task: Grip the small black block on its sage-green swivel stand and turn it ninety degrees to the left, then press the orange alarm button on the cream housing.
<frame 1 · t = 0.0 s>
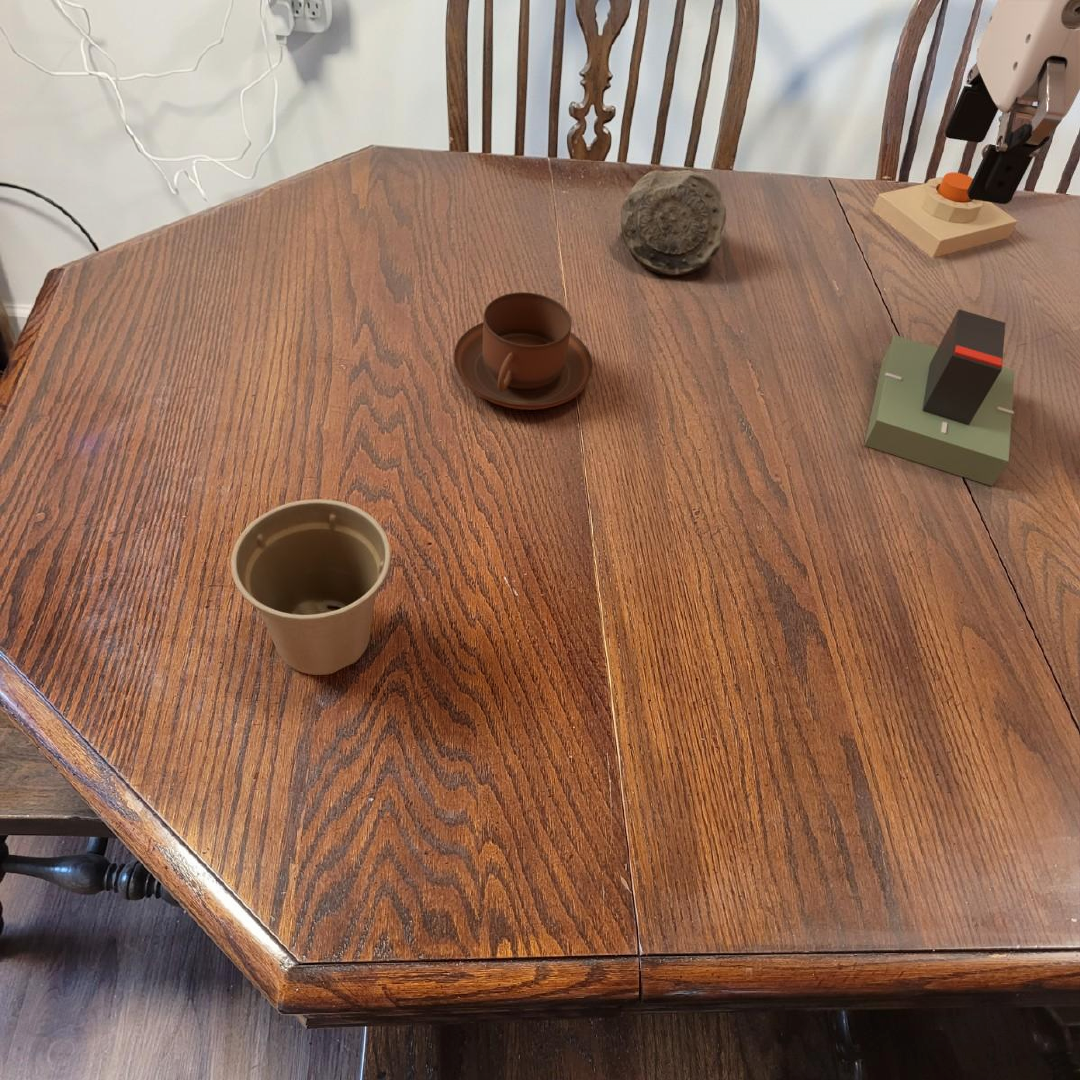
hand: (974, 168, 74), 20 cm above the table, tool pointing down, fingers open, 9 cm apart
flower pot: (323, 638, 63), on the table
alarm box: (939, 224, 107), on the table
black block: (964, 365, 80), point 6 cm above the table, hinge at 0.0°
cup and saucer: (521, 377, 83), on the table
alarm button: (957, 187, 104), point 5 cm above the table, slide at 0.2 cm
fossil: (664, 254, 98), on the table
clock stand: (934, 419, 84), on the table
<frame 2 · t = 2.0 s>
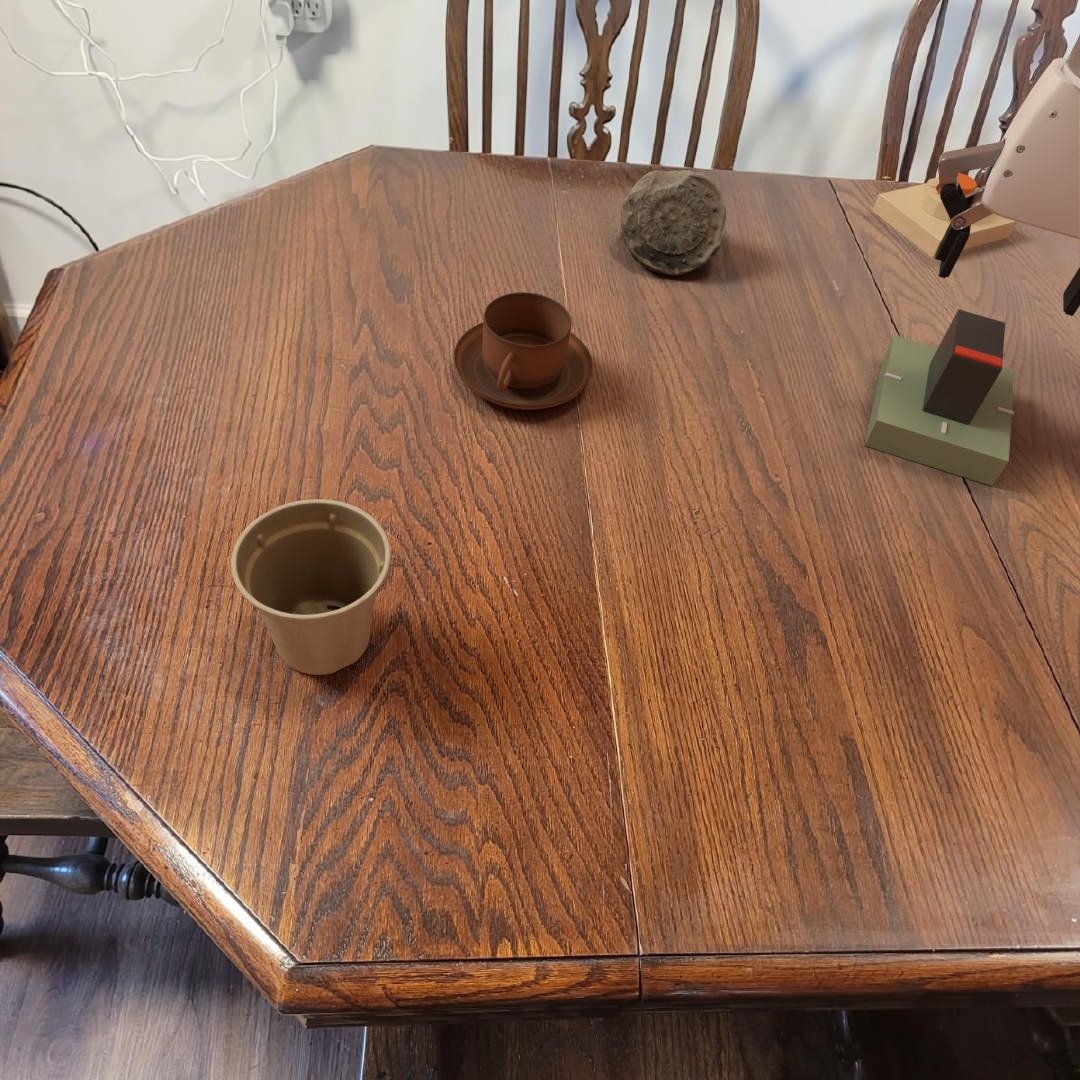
hand: (1004, 287, 74), 14 cm above the table, tool pointing down, fingers open, 9 cm apart
nothing on the table moved.
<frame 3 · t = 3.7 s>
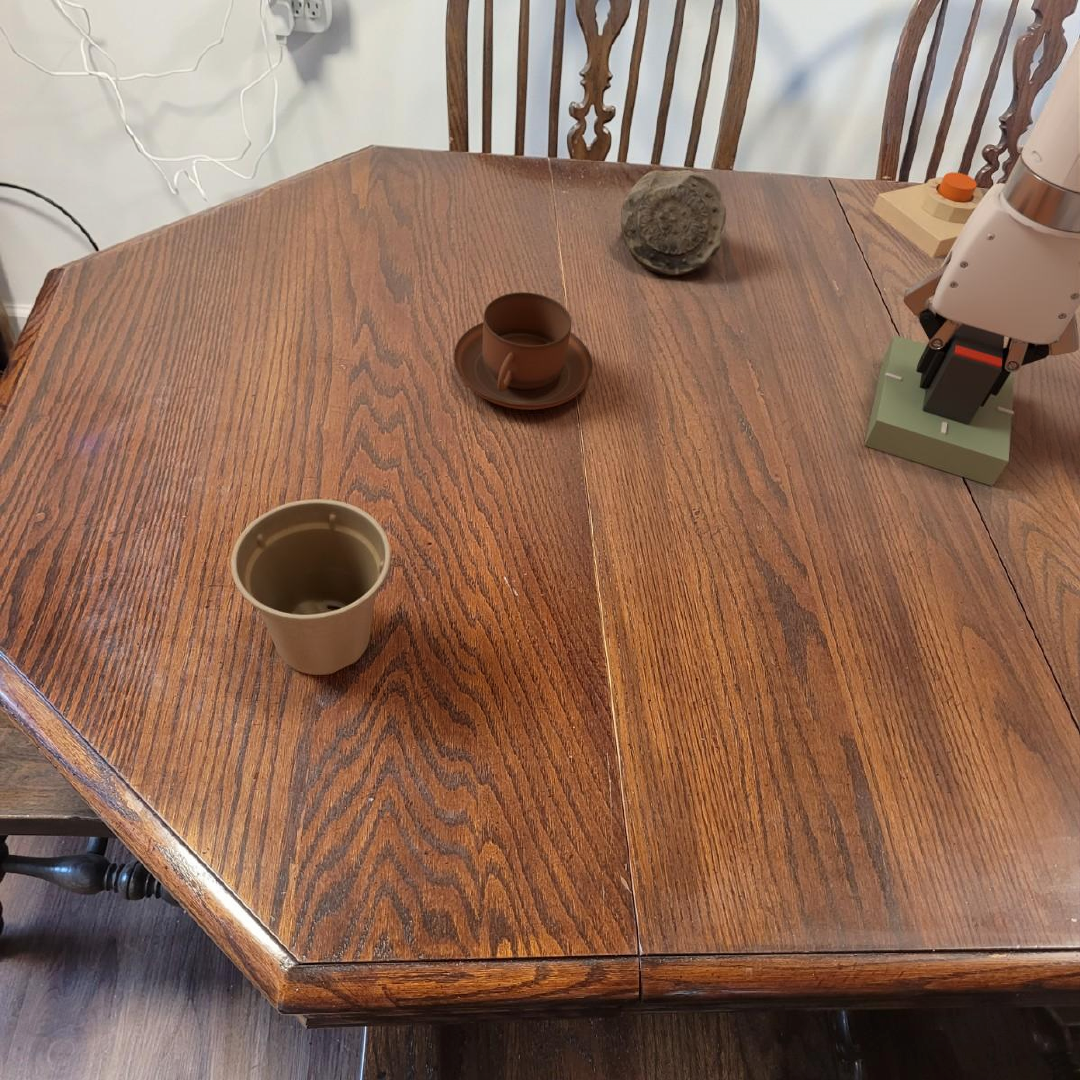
hand: (952, 386, 81), 4 cm above the table, tool pointing down, fingers closed on black block, 4 cm apart
black block: (964, 365, 80), point 6 cm above the table, hinge at -0.1°, touching gripper
everything else where it was.
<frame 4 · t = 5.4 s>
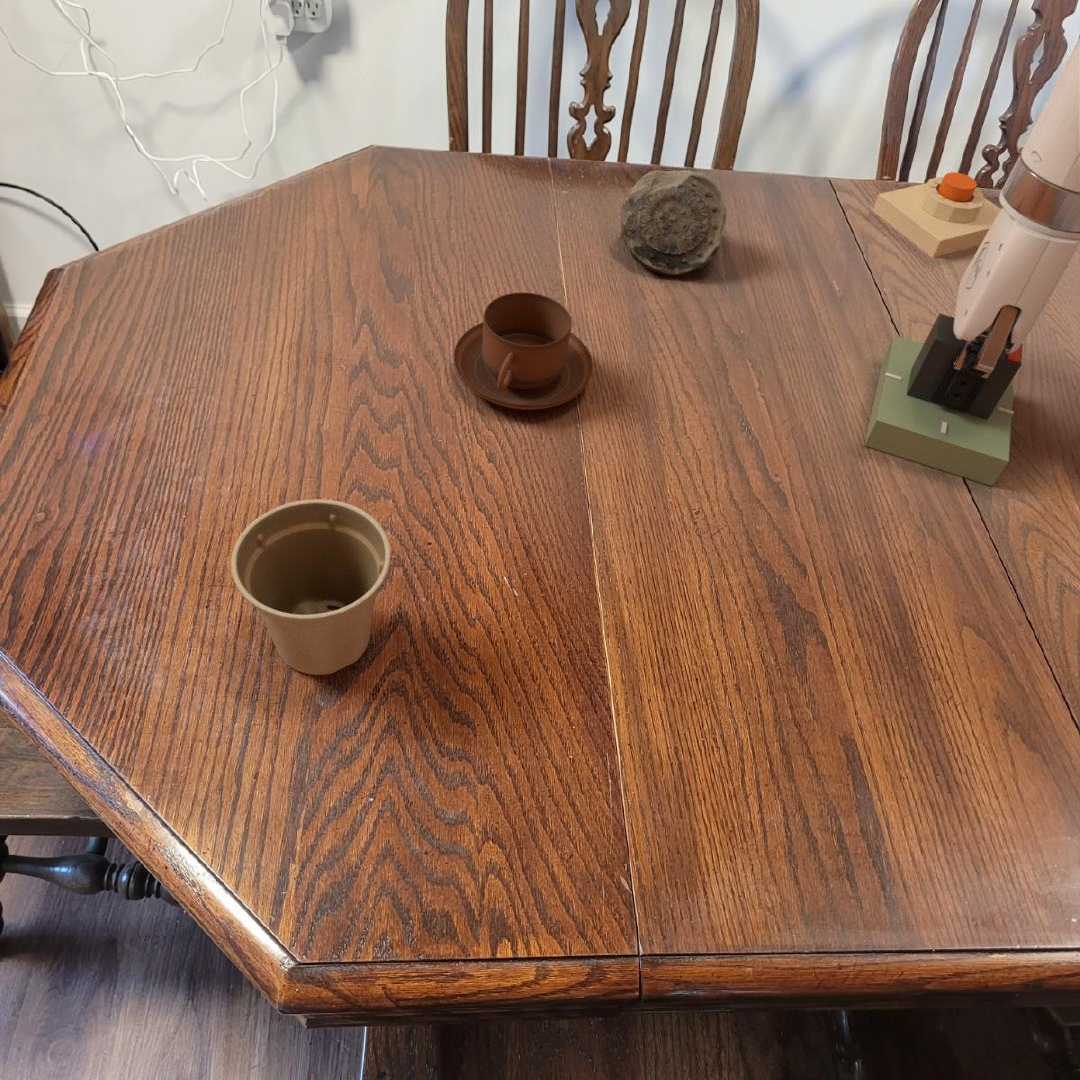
hand: (951, 386, 81), 4 cm above the table, tool pointing down, fingers closed on black block, 4 cm apart
black block: (964, 365, 80), point 6 cm above the table, hinge at 89.8°, touching gripper
everything else where it was.
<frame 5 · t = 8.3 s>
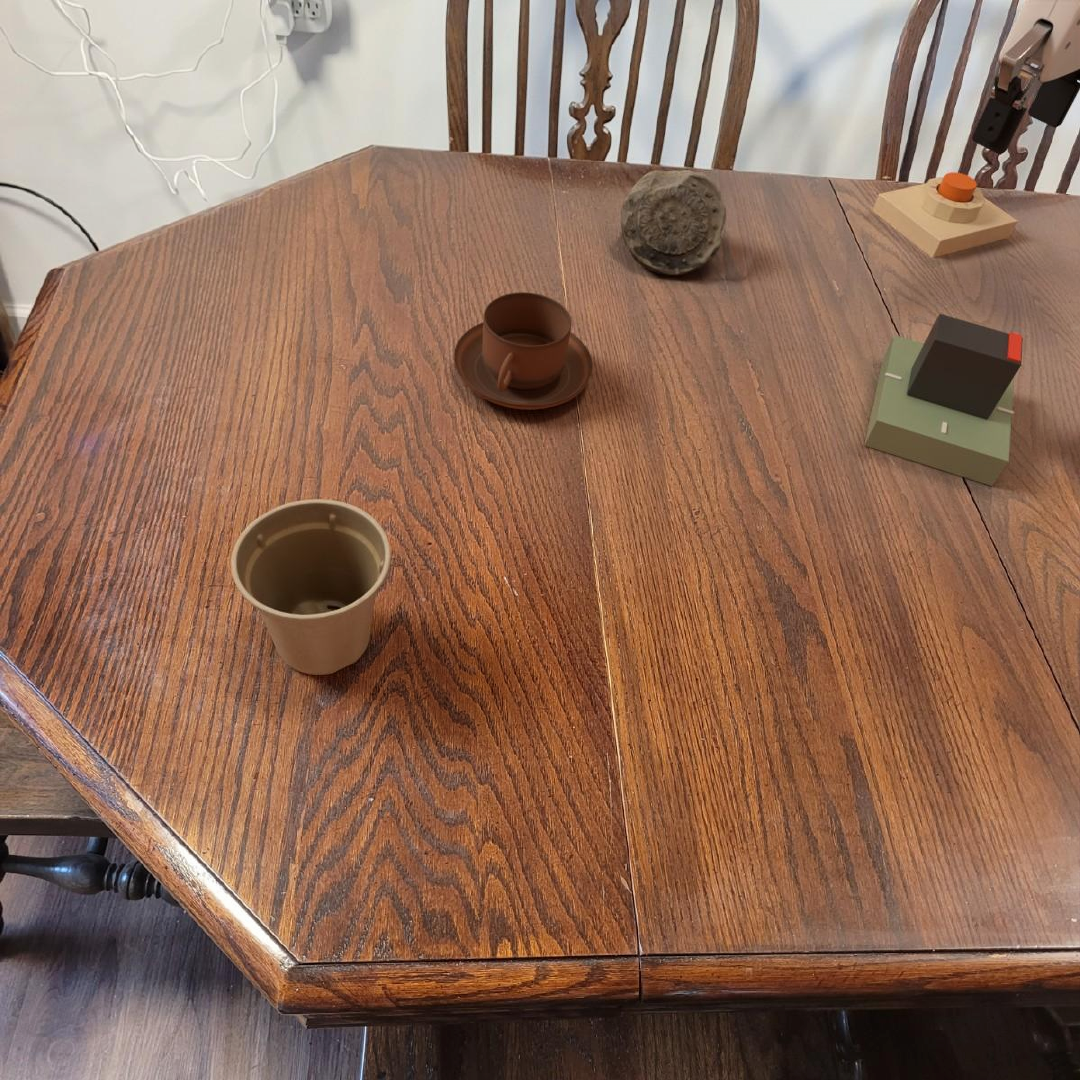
hand: (1016, 133, 85), 17 cm above the table, tool pointing down, fingers open, 9 cm apart
black block: (964, 365, 80), point 6 cm above the table, hinge at 89.9°
everything else where it was.
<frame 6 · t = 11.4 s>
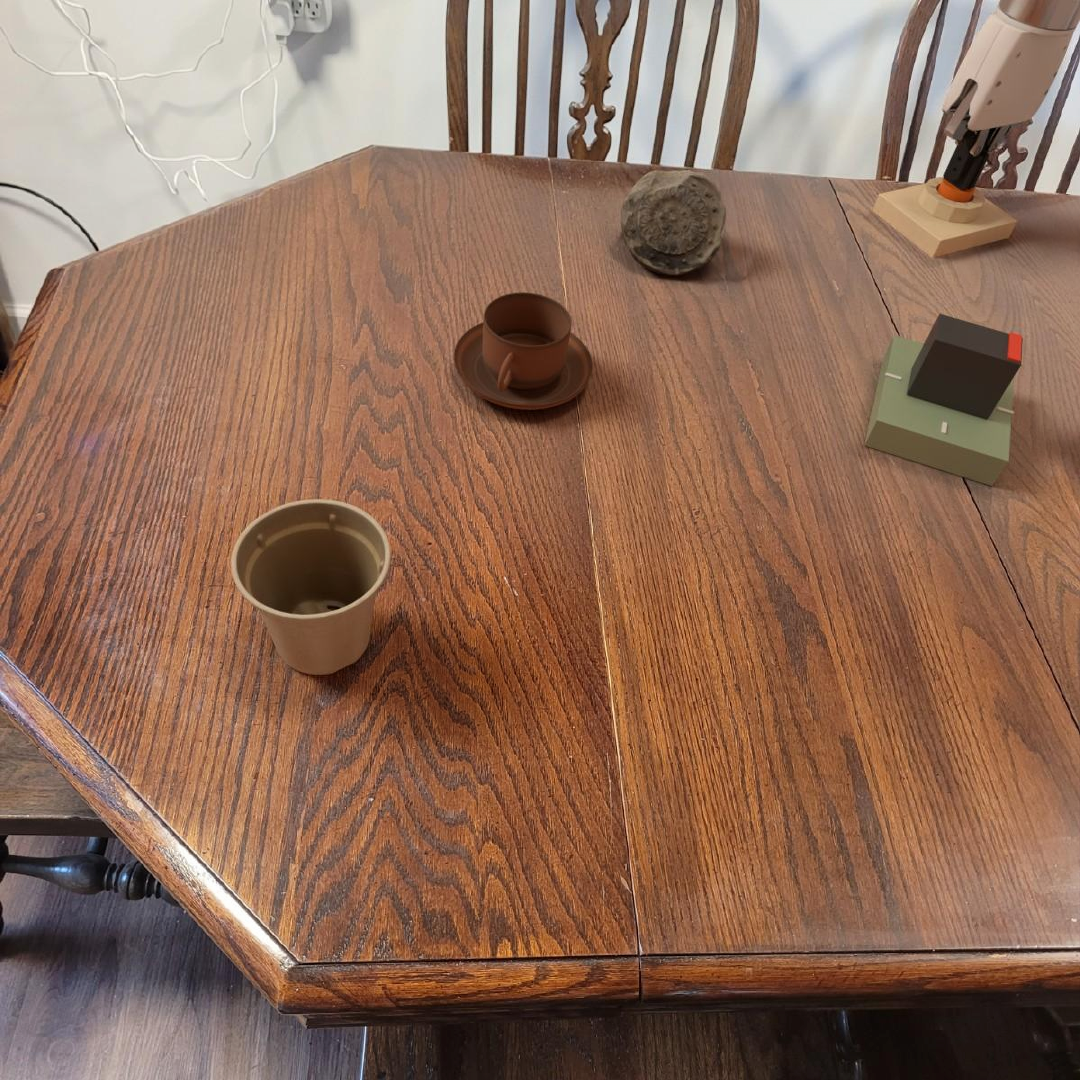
hand: (957, 183, 103), 5 cm above the table, tool pointing down, fingers closed
alarm button: (955, 191, 104), point 4 cm above the table, slide at -0.2 cm, touching gripper
everything else where it was.
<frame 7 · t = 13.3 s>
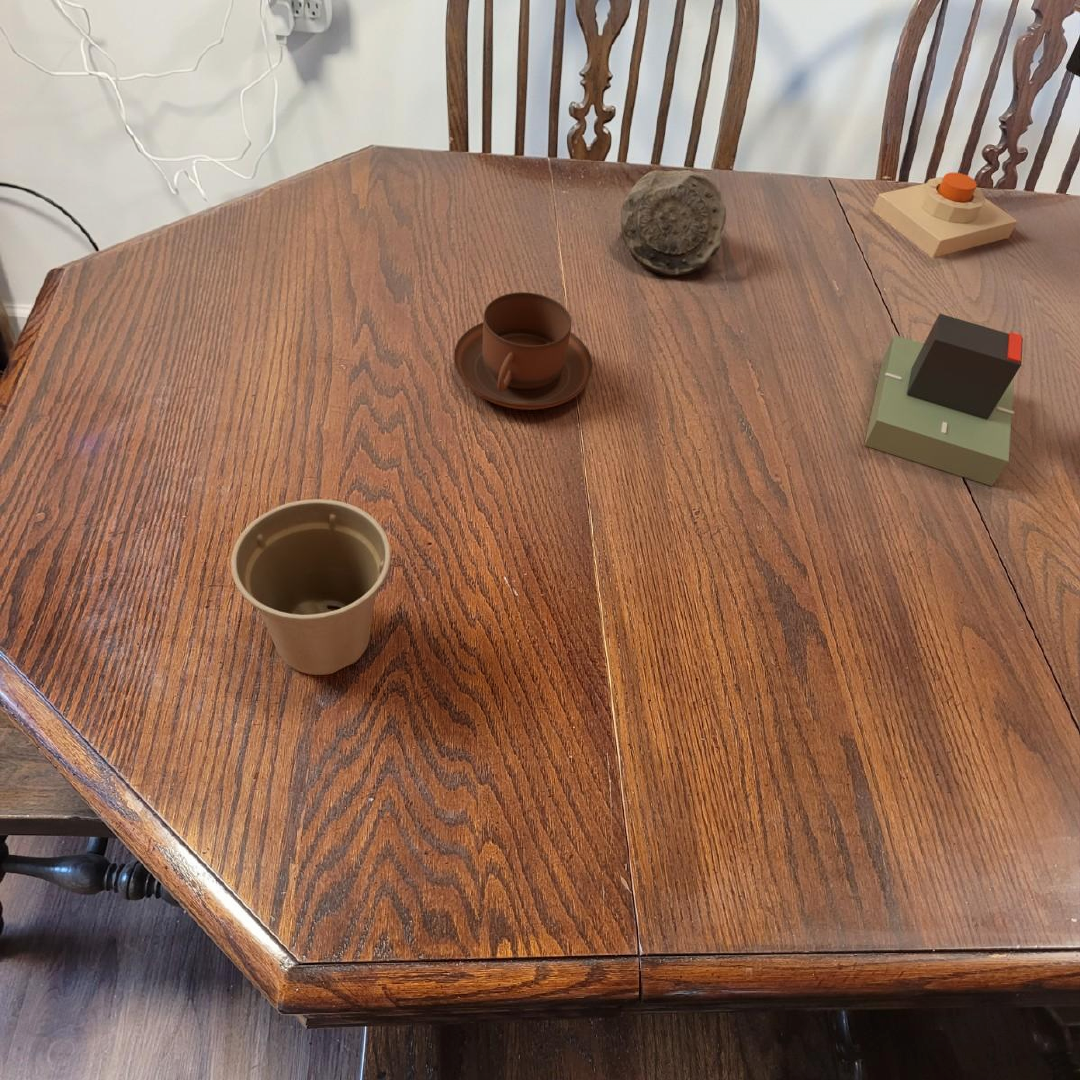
alarm button: (957, 188, 104), point 5 cm above the table, slide at 0.1 cm
everything else where it was.
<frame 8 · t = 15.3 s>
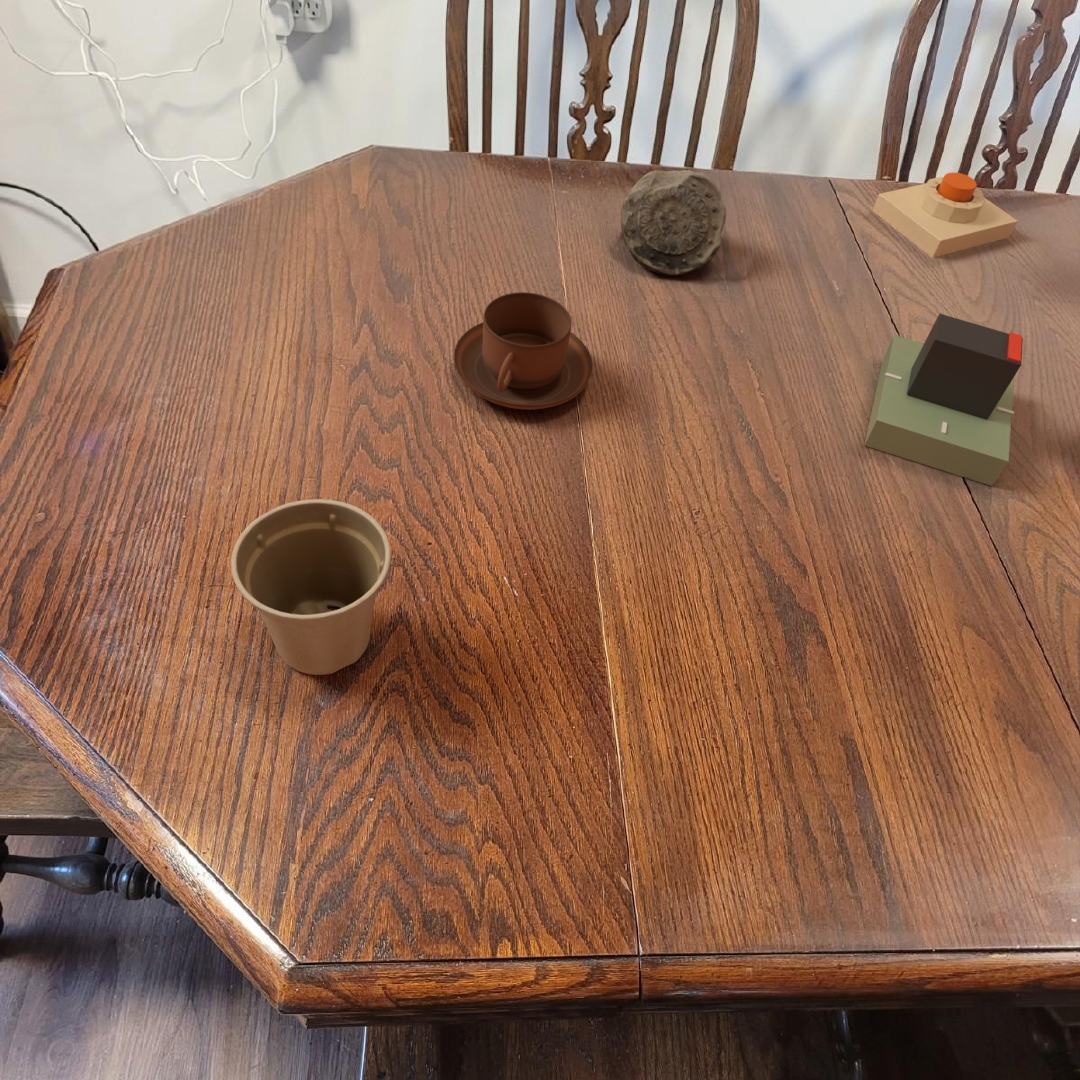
nothing on the table moved.
at the end: black block at +90° (first picture: +0°); alarm button pushed in 1.1 cm at the most during the clip, back to where it started at the end; alarm button slide at 0.1 cm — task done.
